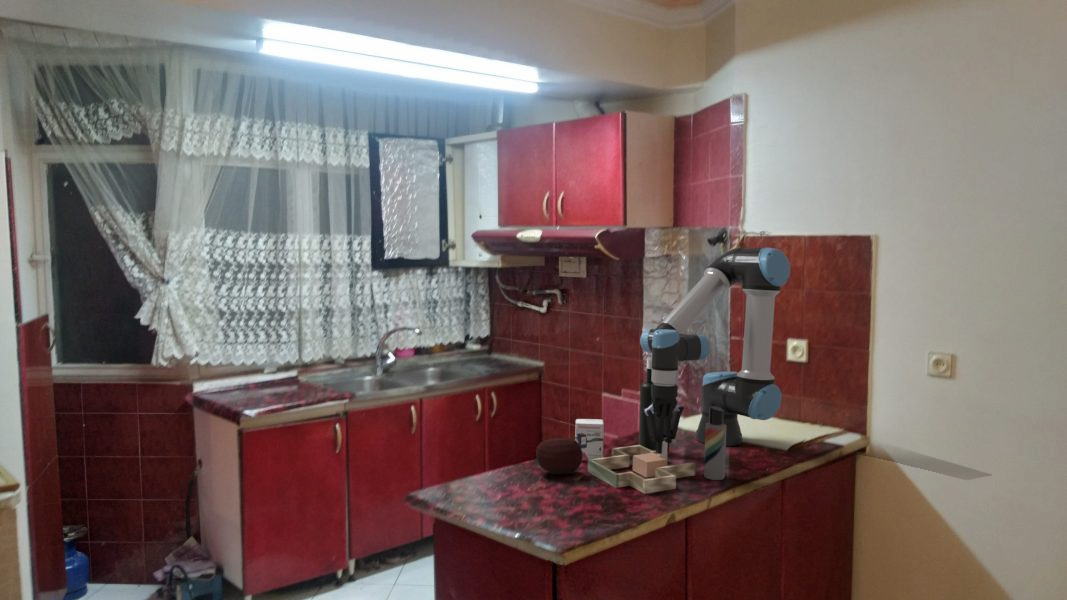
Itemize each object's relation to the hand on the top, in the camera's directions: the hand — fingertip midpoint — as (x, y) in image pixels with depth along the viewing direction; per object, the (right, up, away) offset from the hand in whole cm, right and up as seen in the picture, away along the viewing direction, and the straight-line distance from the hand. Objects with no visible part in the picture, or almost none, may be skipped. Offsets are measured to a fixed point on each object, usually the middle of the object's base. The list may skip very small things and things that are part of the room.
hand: (661, 463), depth 208 cm
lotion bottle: (+14, -3, -5) cm, 15 cm away
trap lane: (-6, -2, -3) cm, 7 cm away
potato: (-30, -2, -4) cm, 30 cm away
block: (-4, -2, -2) cm, 5 cm away
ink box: (-20, -1, +10) cm, 23 cm away
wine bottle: (-1, -1, +19) cm, 19 cm away
